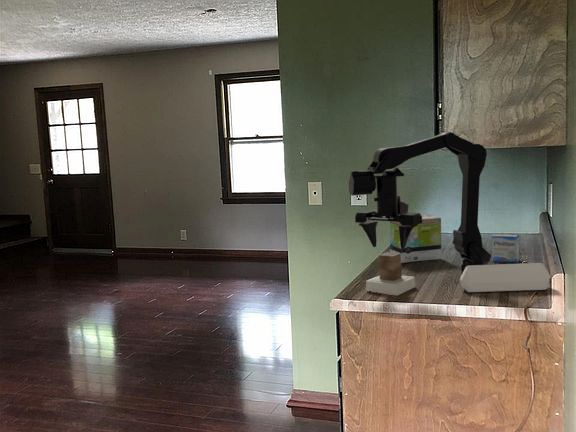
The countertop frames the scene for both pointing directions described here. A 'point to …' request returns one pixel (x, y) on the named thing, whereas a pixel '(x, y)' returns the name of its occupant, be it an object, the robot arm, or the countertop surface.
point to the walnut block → (390, 266)
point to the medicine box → (505, 248)
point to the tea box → (418, 240)
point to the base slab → (390, 285)
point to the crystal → (505, 277)
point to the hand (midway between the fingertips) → (388, 248)
